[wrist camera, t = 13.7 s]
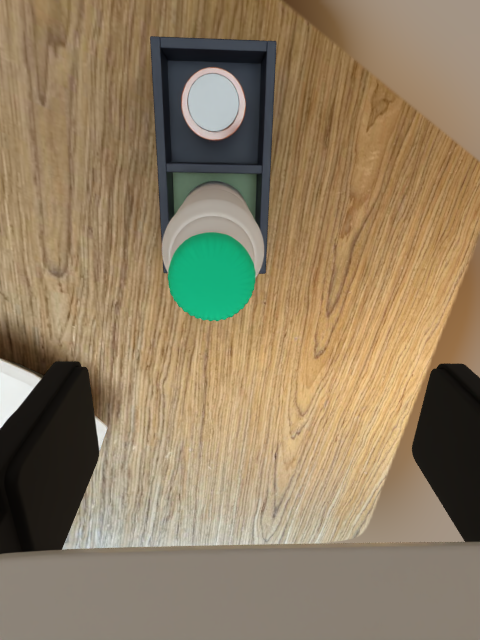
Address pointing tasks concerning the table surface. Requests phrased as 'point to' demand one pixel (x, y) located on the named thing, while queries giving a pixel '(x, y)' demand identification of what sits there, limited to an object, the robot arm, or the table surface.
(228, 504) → the table surface
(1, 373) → the bowl
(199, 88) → the spice jar
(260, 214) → the divided storage box
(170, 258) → the water bottle
